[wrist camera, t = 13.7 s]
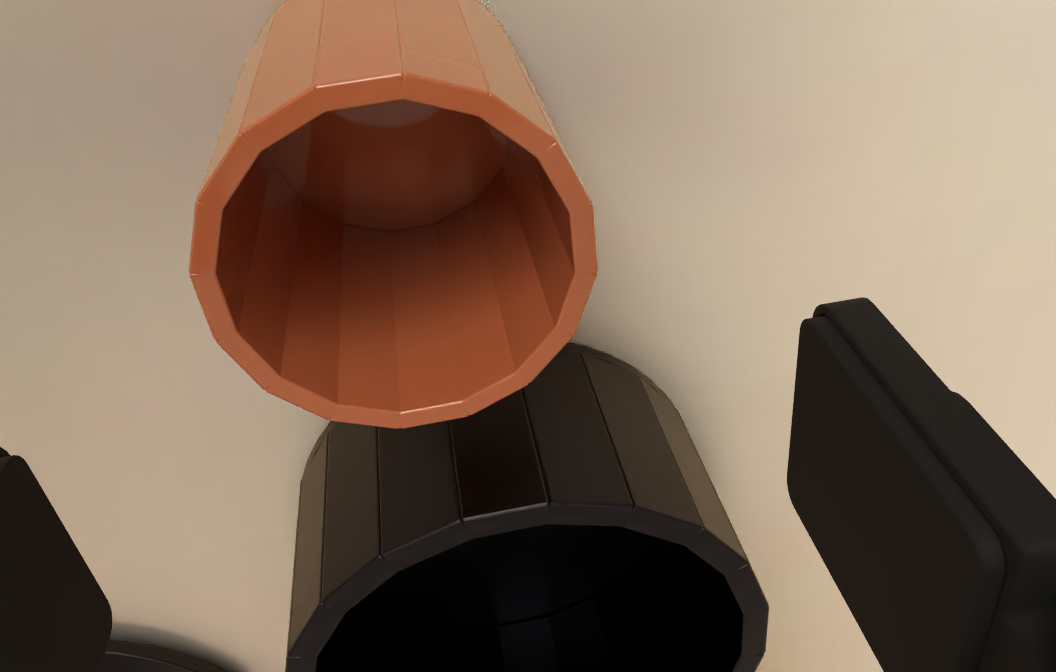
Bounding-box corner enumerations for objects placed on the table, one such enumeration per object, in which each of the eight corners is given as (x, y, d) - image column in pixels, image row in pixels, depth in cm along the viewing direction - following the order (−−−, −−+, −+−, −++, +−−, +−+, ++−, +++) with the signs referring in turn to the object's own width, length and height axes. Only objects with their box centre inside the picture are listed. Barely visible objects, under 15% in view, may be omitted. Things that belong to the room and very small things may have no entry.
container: (205, -13, 18) (126, 116, 12) (509, -59, 19) (582, 43, 12) (286, 254, 22) (258, 457, 16) (539, 211, 22) (606, 391, 16)
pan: (248, 382, 24) (216, 567, 18) (691, 302, 25) (782, 457, 19) (350, 656, 31) (348, 846, 26) (690, 587, 32) (757, 757, 26)
